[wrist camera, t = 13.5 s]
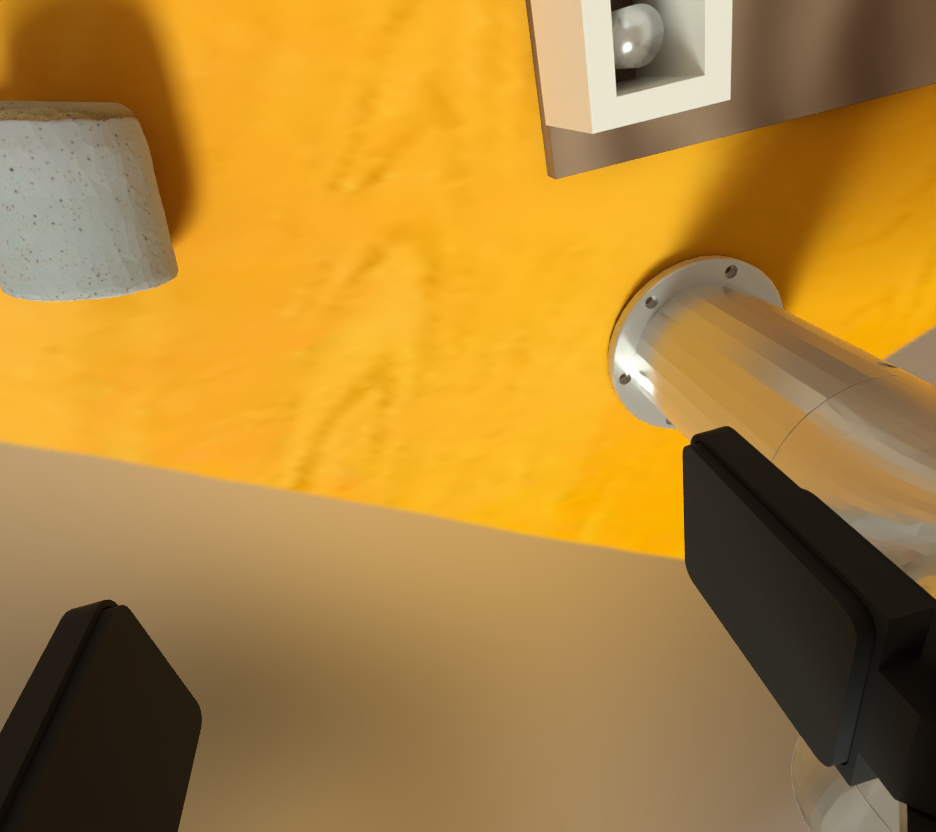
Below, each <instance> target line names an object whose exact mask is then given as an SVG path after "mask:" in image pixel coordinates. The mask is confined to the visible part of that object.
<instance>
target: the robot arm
mask: <svg viewBox="0 0 936 832" xmlns="http://www.w3.org/2000/svg"><path fill="white" fill-rule="evenodd" d="M647 298H649V299H648V300H647ZM646 300H647V301H646ZM608 374H609V378H610V381H611V385H612V388H613V390H614V392H615V393H616V395H617V397H618V399H619V400H620V401H621V403H622V404H623V405H624V406H625V407H626V408H627V410H628V411H629V412H631V413H632V414H633V415H634V416H635V417H637V418H638V419H639V420H641V421H643V422H645V423H647V424H649V425H653V426H656V427H660V428H667V429H678V430H679V431H680V432H681V433H682V434H683V435H684V436H685V437H686V438H687V439H688V440H689V441H690V442H691V445H688V446H685V447H684V449H683V494H684V539H685V564H686V568H687V571H688V573H689V576H690V578H691V580H692V581H693V583H694V584H695V586H696V587H697V589H698V590H699V592H700V593H701V594H702V596H703V597H704V599H705V600H706V602H707V603H708V604H709V606H710V607H711V609H712V610H713V611H714V613H715V614H716V616H717V617H718V618H719V620H720V621H721V623H722V624H723V626H724V627H725V629H726V630H727V631H728V633H729V634H730V636H731V637H732V639H733V640H734V641H735V643H736V644H737V645H738V647H739V648H740V650H741V651H742V653H743V654H744V655H745V657H746V659H747V660H748V661H749V663H750V664H751V666H752V667H753V668H754V670H755V671H756V673H757V674H758V676H759V677H760V678H761V680H762V681H763V683H764V684H765V685H766V687H767V688H768V690H769V691H770V693H771V694H772V695H773V697H774V698H775V700H776V701H777V703H778V704H779V705H780V707H781V708H782V710H783V711H784V712H785V714H786V715H787V717H788V718H789V720H790V721H791V723H792V724H793V725H794V727H795V728H796V730H797V731H798V732H799V734H800V737H799V740H798V742H797V744H796V747H795V750H794V754H793V759H792V768H791V774H792V784H793V791H794V795H795V799H796V802H797V804H798V807H799V810H800V812H801V815H802V817H803V820H804V822H805V824H806V826H807V828H808V830H809V831H810V832H936V386H934V385H932V384H930V383H927V382H925V381H923V380H921V379H919V378H917V377H915V376H913V375H911V374H909V373H907V372H905V371H904V370H902V369H900V368H898V367H896V366H894V365H891V364H890V363H888V362H886V361H884V360H882V359H880V358H878V357H876V356H874V355H872V354H870V353H868V352H866V351H864V350H862V349H860V348H858V347H856V346H854V345H852V344H850V343H848V342H846V341H844V340H842V339H840V338H838V337H836V336H834V335H832V334H831V333H829V332H827V331H825V330H823V329H821V328H819V327H817V326H815V325H813V324H811V323H809V322H807V321H805V320H803V319H801V318H799V317H797V316H795V315H793V314H791V313H789V312H787V311H785V310H783V304H782V301H781V298H780V295H779V292H778V290H777V289H776V287H775V285H774V284H773V282H772V281H771V279H770V278H769V277H768V276H766V275H765V274H764V273H763V272H762V271H761V270H760V269H758V268H756V267H754V266H752V265H751V264H749V263H747V262H744V261H741V260H739V259H736V258H733V257H727V256H720V255H711V256H700V257H696V258H692V259H689V260H685V261H682V262H680V263H678V264H676V265H673V266H671V267H669V268H667V269H665V270H664V271H662V272H661V273H659V274H658V275H657V276H655V277H654V278H652V279H651V280H650V281H648V282H647V283H646V284H645V285H644V286H643V287H642V288H641V289H640V290H639V291H638V292H637V293H636V294H635V295H634V297H633V298H632V299H631V301H630V302H629V303H628V305H627V306H626V307H625V309H624V310H623V312H622V314H621V316H620V318H619V320H618V321H617V323H616V325H615V328H614V331H613V334H612V337H611V340H610V344H609V352H608ZM201 723H202V716H201V710H200V707H199V705H198V703H197V701H196V700H195V698H194V697H193V696H192V694H191V693H190V692H189V690H188V689H187V688H186V686H185V685H184V683H183V682H182V681H181V679H180V678H179V676H178V675H177V674H176V672H175V671H174V669H173V668H172V667H171V665H170V664H169V663H168V661H167V660H166V658H165V657H164V656H163V654H162V653H161V652H160V650H159V649H158V648H157V646H156V645H155V643H154V642H153V641H152V639H151V638H150V636H149V635H148V634H147V632H146V631H145V629H144V628H143V627H142V625H141V624H140V623H139V621H138V620H137V619H136V617H135V616H134V614H133V613H132V612H131V610H130V609H129V608H128V607H127V606H124V605H120V606H118V605H117V604H116V603H115V602H114V601H112V600H103V601H100V602H96V603H93V604H89V605H85V606H82V607H78V608H75V609H71V610H69V611H68V612H66V613H65V615H64V616H63V617H62V619H61V620H60V622H59V624H58V626H57V628H56V630H55V632H54V634H53V635H52V637H51V639H50V641H49V643H48V645H47V647H46V649H45V650H44V652H43V654H42V656H41V658H40V660H39V661H38V663H37V665H36V667H35V669H34V671H33V673H32V675H31V677H30V678H29V680H28V682H27V684H26V686H25V688H24V690H23V691H22V693H21V695H20V697H19V699H18V701H17V703H16V705H15V707H14V708H13V710H12V712H11V714H10V716H9V718H8V719H7V721H6V723H5V725H4V727H3V729H2V731H1V733H0V832H178V827H179V823H180V819H181V815H182V810H183V805H184V801H185V797H186V792H187V788H188V784H189V779H190V775H191V770H192V766H193V761H194V757H195V753H196V748H197V744H198V739H199V735H200V730H201Z"/></svg>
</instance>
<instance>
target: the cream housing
mask: <svg viewBox="0 0 936 832" xmlns="http://www.w3.org/2000/svg"><path fill="white" fill-rule="evenodd" d="M732 1H733V0H632V2H633V5H635V4H648V5H650V6H652V7H653V8H655V9H656V10H657V12H658V13H659V14H660V16H661V18H662V21H663V26H664V37H663V42H662V45H661V48H660V50H659V52H658V53H657V55H656V56H655V58H654V59H653V60H652V61H651V62H649V63H648V64H646V65H645V66H642V67H639V68H636V78H633V79H629V80H625V81H620V82H616V79H615V64H614V49H613V34H612V19H611V3H610V0H531V8H532V16H533V24H534V33H535V41H536V49H537V57H538V65H539V73H540V81H541V89H542V98H543V106H544V114H545V122H546V125H548V126H553V127H558V128H564V129H569V130H574V131H580V132H585V133H590V134H594V133H598V132H602V131H606V130H610V129H614V128H618V127H622V126H626V125H630V124H634V123H638V122H642V121H647V120H651V119H655V118H659V117H663V116H667V115H671V114H675V113H679V112H683V111H687V110H691V109H695V108H699V107H703V106H707V105H711V104H715V103H719V102H723V101H727V100H730V95H731V48H732Z"/></svg>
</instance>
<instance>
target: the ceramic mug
mask: <svg viewBox="0 0 936 832" xmlns="http://www.w3.org/2000/svg"><path fill="white" fill-rule="evenodd" d="M177 273H178V267H177V262H176V258H175V254H174V250H173V246H172V242H171V238H170V234H169V229H168V225H167V220H166V216H165V211H164V208H163V204H162V201H161V197H160V193H159V190H158V186H157V181H156V177H155V172H154V167H153V162H152V157H151V153H150V149H149V146H148V143H147V140H146V138H145V135H144V133H143V130H142V128H141V126H140V123H139V121H138V119H137V117H136V116H135V114H134V113H133V112H132V111H131V110H130V109H129V108H127V107H126V106H125V105H123V104H120V103H113V102H69V101H0V286H1V288H2V290H3V292H4V293H6V294H7V295H9V296H12V297H15V298H20V299H26V300H32V301H71V300H72V301H76V300H86V299H99V298H109V297H117V296H123V295H128V294H133V293H136V292H138V291H143V290H148V289H152V288H155V287H158V286H160V285H162V284H164V283H167V282H168V281H170V280H171V279H173V278H175V277H176V276H177Z"/></svg>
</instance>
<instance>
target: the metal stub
mask: <svg viewBox="0 0 936 832" xmlns="http://www.w3.org/2000/svg"><path fill="white" fill-rule="evenodd" d="M611 19H612V34H613V49H614V64H615V69H628V68H639V67H642V66H645V65H646V64H648V63H649V62H651V61H652V60H653V59H654V58H655V56H656V55H657V53H658V52H659V50H660V48H661V45H662V42H663V37H664V26H663V21H662V18H661V16H660V14H659V13H658V12H657V10H656V9H655V8H653V7H652V6H650V5H648V4H635V5H632V6H628V7H625V8H621V9H618V10H614V11H611Z"/></svg>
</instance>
